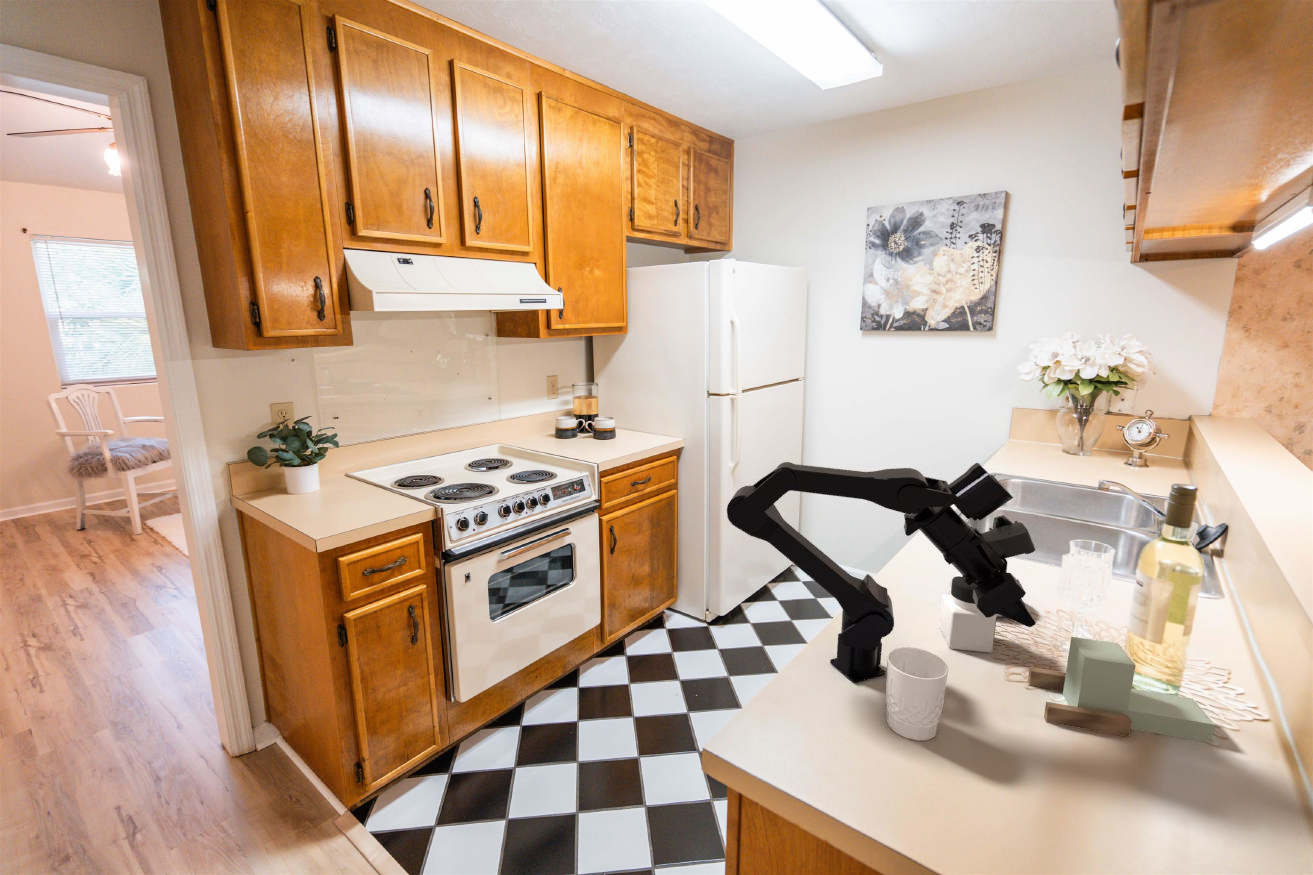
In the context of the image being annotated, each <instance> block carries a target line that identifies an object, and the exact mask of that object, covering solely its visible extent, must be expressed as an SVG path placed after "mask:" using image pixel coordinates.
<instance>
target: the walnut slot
mask: <svg viewBox="0 0 1313 875" xmlns="http://www.w3.org/2000/svg"><path fill="white" fill-rule="evenodd" d="M1027 675H1028V676H1027V683H1028V684H1029V685H1028V686H1032V687H1039V688H1043V689H1049V690H1056V691H1061V692H1063V689H1064V683H1065V676H1066V671H1065V672H1064V671H1057V670H1051V669H1045V668H1040V667H1031V666H1029V669H1028V674H1027ZM1044 706H1045V708H1044V713H1043V714H1044V715H1043V718H1044V719H1045V722H1046V723H1050V724H1055V725H1056V724H1057V725H1061V726H1065V727H1072V728H1078V729H1084V730H1089V731H1094V732H1099V733H1100V732H1101V733H1104V734H1110V735H1116V736H1121V737H1122V736H1123V737H1126V738H1127V737H1128V738H1129V737H1130V733H1131V729H1130V728H1131V722H1132V721H1131V719H1130V718H1129V716H1126V715H1121V714H1115V713H1109V712H1103V711H1098V710H1092V709H1086V708H1080V707H1074V706H1069V705H1068V704H1062V703H1056V702H1050V701H1045V705H1044Z"/></svg>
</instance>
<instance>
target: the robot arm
mask: <svg viewBox="0 0 1313 875" xmlns="http://www.w3.org/2000/svg"><path fill="white" fill-rule="evenodd" d="M791 491H792V492H801V493H809V494H817V495H824V496H825V495H826V496H831V497H832V496H833V497H841V498H850V499H855V500H858V499H859V500H864V501H868V502H872V503H874V504H876V505H877V506H881V507H882V508H885V509H888V510H892V511H895V512H898V513H901V514H903V517H904V524H903V529H904V533H905V536H906V537H909V536H911V535H913V534H914V533H916V532H917V531H920V532H921V533H922V534H923V535H924V536H925V537H926V538H927V539H928V541H929V542H930V543H931V544H932V545H933V546H934V547H935V548H936V549H937V550H938V551H939V552H940V553H941V554H942V556H943V560H944V561H945V562H946V563H947V564H948V565H949V566H950V565H952V566H953V567H954V568H955V569H956V571H957V572H959V574H960V575H962V576H963V579H964V581H965V582H966V583H967V584H968V585H971V584H972V583H974V584H976V585H978V586H977V587H976V588H974V590H973V599H974V602H975V604H976V607H977V608H978V609H979V610H980V611H981V612H982V614H983V615H984V616H985V617H986V618H988V617H992V616H994V615H995V614H999V615H1002V616H1001V617H1004V618H1007V619H1009V620H1012V621H1014V622H1016V623H1018V624H1020V625H1023V626H1025V627H1027V628H1032V627H1034V626H1035V625H1036V624H1037V623H1036V620H1035V619H1034V617H1033V616H1032V615H1031V613H1030V612H1029V610H1028V608H1027V606H1026V603H1025V602H1024V599H1023V598H1024V597H1025V595H1026V593H1027V592H1026V591H1025V589H1024V587H1023V585H1022V584H1021V582H1020V581H1019V579H1017V578H1016V577H1015V576H1014V575H1013V574H1012V572H1008V560H1007V559H1009V558H1012V557H1018V556H1020V555H1023V554H1025V555H1029V554H1032V553H1034V552H1036V547H1035V545H1034V542H1033V540H1032V537H1031V534H1030V532H1029V530H1028V528H1027V527H1026V526H1025V525H1024V523H1023V522H1020V521H1018V520H1014V523H1013V521H1012V520H1010V519H1009V518H1008V517H1006V516H1005V515H1002V514H1001V515H1000V516H996V517H993V523H992V527H990V528H988V531H985V532H980V530H978V528H977V527H973V526H970V525H969V524H968V523H967V522H966V521H965V520H964V518H962V517H961V516H960V515H959V513H957V511H955V510H954V509H953V507H952V506H953V505H954V507H956V508H957V510H958V511H960V513H961V514H962V515H963V516H964V517H965V518H966V519H967V520H971V519H972V520H973V521H974V522H975V521H977V520H979V521H982V520H983V519H985V518H987V517H988V516H989V515H991V514H993V513H994V512H995V511H997V510H998V509H999V508H1001V507H1002V506H1004V505H1005V504H1007V503H1008V502H1009V501H1011V500H1013V499H1014V496H1013V495H1012V493H1010V492H1009V491H1008V489H1006V488H1005V486H1004V485H1003V484H1002V483H1001V482H1000V481H999V480H998V479H997V478H996V477H995V476H994V474H990V473H989V472H988V471H987V470H986V469H985V468H984V467H983V466H982V465H981V464H980V463H979V462H975V463H974V464H973V465H971V466H970V467H969V468H968V469H967V470H966V471H965V472H964V473H963V474H961V475H960V476H959V477H957V478H956V479H954V480H953V481H952V482H951V483H948V481H947V480H943V479H939V478H932V477H929V476H924V475H923V474H922V473H921V471H919V470H918V469H914V468H911V467H901V468H900V467H899V468H885V469H880V470H873V471H862V470H861V471H860V470H852V469H843V468H842V469H841V468H833V467H825V466H824V467H822V466H814V465H804V464H796V463H793V462H789V461H786V462H784V461H783V462H781V463H780V464H778V465H777V467H776V468H775V469H773V470H772V471H770V472H769V473H767V474H766V475H765V476H762V478H760V479H759V480H758V481H756V482H755V483H754V484H753V485H745V486H742V487H740V488H739V489H737V491H736V492H735V493H734V494H733V496H732V498H731V499H730V500H729V502H728V504H727V507H726V515H727V517H726V518H727V519H728V521H729V522H730V524H731V525H733V527H735V528H737V529H738V530H740V531H742V532H743V533H745V534H747V536H750V537H753V538H754V539H755V538H756V539H759V540H762V541H765V542H767V543H769V544H770V545H771V546H772V547H773V548H775V549H776V550H777V551H778V552H780V554H782V555H783V556H785V557H786V558H787V559H788V560H789V561H790V562H792V563H793V564H794V565H795V566H797V567H798V569H800V570H801V571H803V573H804V574H806V575H807V576H808V577H809V578H811V580H813V581H814V582H815V583H816V584H818V585H819V586H820V587H821V588H822V589H823V590H824V591H825V592H827V593H829V594H830V595H831V596H832V597H833V598H834V599H835V600H836V601H837V603H838V605H839V606H840V607H841V609H842V615H841V628H840V629H841V632H839V633H838V634H837V647H836V648H837V649H836V657H835V658H831V659H830V660H829V663H830V665H832V666H833V667H834V668H835V669H836V670H838V671H839V672H840V673H841V674H842V675H844V677H846V678H847V679H849V681H851V682H852V683H854V684H858V683H862V682H865V681H869V680H872V679H876V678H879V677H883V676H884V677H885V676H886V675H887V671H886V670H884V669H883V668H882V667H880V666H881V662H882V661H881V660H882V649H883V643H882V639H883V638H884V637H887V636H889V635H890V634H891V633H892V631H893V630H894V627H895V620H894V619H895V618H894V611H893V610H894V607H893V602H892V599H891V597H890V595H889V594H888V593H889V592H888V588H887V587H885V586H882V585H881V584H880V583H878V582H876V580H875V579H874V578H873V577H872V576H871V575H870V574H868V573H867V574H866V575H865V576H864V578H863V579H862V578H858V577H856V576H854V575H851V574H850V573H848V572H847V571H846V570H844V568H842V567H841V566H840V565H839V564H838V563H837V562H835V561H834V560H833V559H831V557H829V556H828V555H827V554H826V553H825V552H823V551H822V550H821V549H820V548H818V547H817V546H816V545H814V544H813V542H811V541H810V540H809V539H808V538H806V536H804V535H803V534H801V533H800V531H798V530H797V529H795V528H794V527H793V526H792V525H791V524H790V523H789V522H787V521H786V520H785V519H784V518H783V516H782V514H781V513H780V512H779V509H778V508H777V507H776V505H775V503H777V501H778V500H780V498H782V497H783V496H784V495H785V494H787V493H789V492H791Z"/></svg>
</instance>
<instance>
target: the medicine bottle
mask: <svg viewBox="0 0 1313 875" xmlns="http://www.w3.org/2000/svg"><path fill="white" fill-rule="evenodd" d="M951 580H952V587H950V590H951V595H949V594H942V598H941V608H940V616H939V617H940V618H939V625H938V626H939V627H938V629H939V631H940V633H941V635H942V637H943V639H944V640H945V643H946V645H947V647H948V649H950V650H958V651H959V650H961V651H969V652H978V653H989V654H990V653H991V654H992V653H993V651H994V643H995V633H996V628H997V627H996V626H997V617H998V616H996V615H994V616H992V617H988V618H986V617H985V616H984V615H983V614H982V612H981V611H980V610H979V609H978V608H977V607H976V604H975V602H974V599H973V590H974V588H976V587H977V586H978V585H976V584H974V583H972V584H971V585H968V584H967V583H966V582H965V581H964V579H963V576H962V574H956V575H955V576H954V577H953V578H952V579H951Z"/></svg>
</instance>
